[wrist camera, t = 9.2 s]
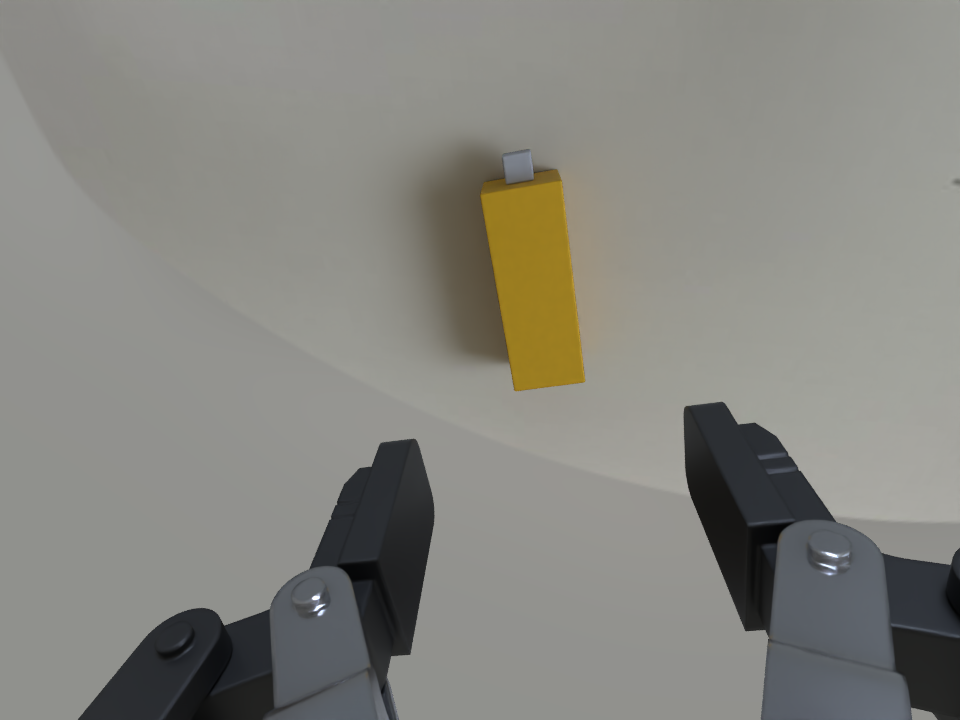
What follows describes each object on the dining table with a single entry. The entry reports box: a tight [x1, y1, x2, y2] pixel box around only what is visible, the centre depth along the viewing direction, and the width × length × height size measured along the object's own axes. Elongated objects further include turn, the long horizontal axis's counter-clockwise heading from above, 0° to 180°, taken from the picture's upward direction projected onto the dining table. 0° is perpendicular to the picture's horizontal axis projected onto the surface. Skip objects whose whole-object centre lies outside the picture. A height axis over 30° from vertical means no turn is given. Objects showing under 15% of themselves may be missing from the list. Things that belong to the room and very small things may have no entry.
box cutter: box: [480, 149, 585, 391], centre depth 22 cm, size 9×3×2 cm, turn 10°
